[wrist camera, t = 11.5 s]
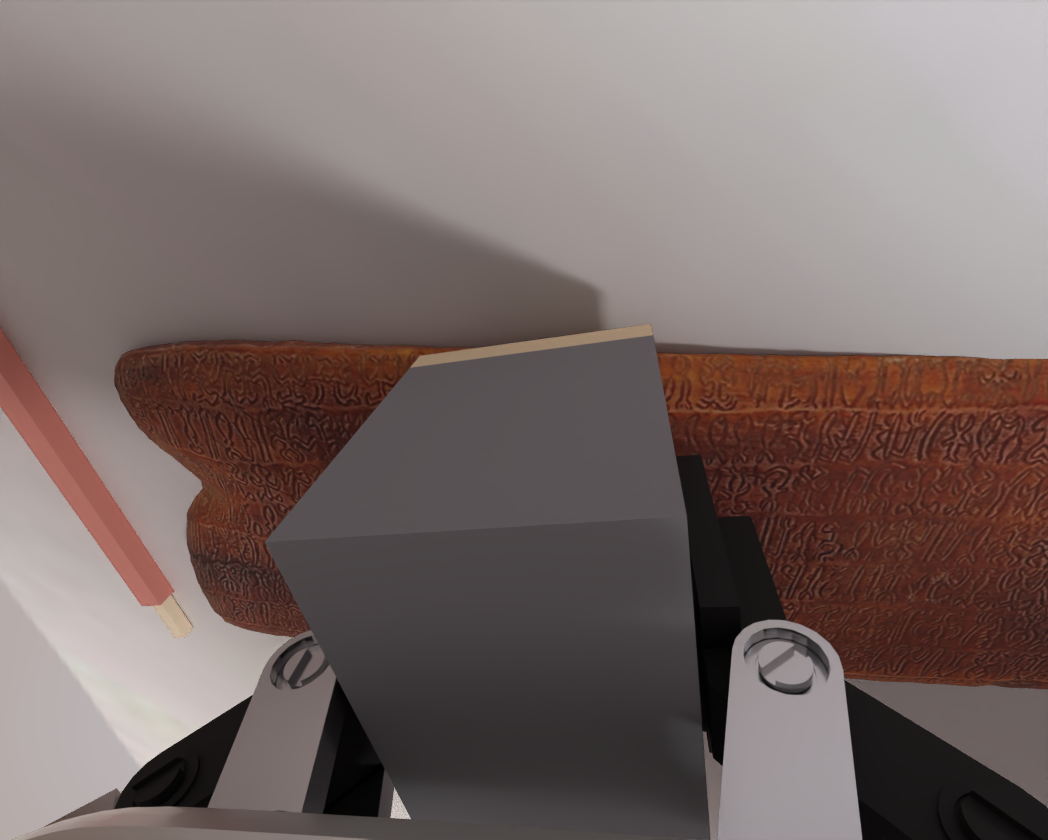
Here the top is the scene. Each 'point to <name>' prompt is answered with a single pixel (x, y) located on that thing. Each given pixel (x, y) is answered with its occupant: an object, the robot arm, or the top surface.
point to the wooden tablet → (732, 472)
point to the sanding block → (515, 589)
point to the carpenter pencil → (84, 488)
